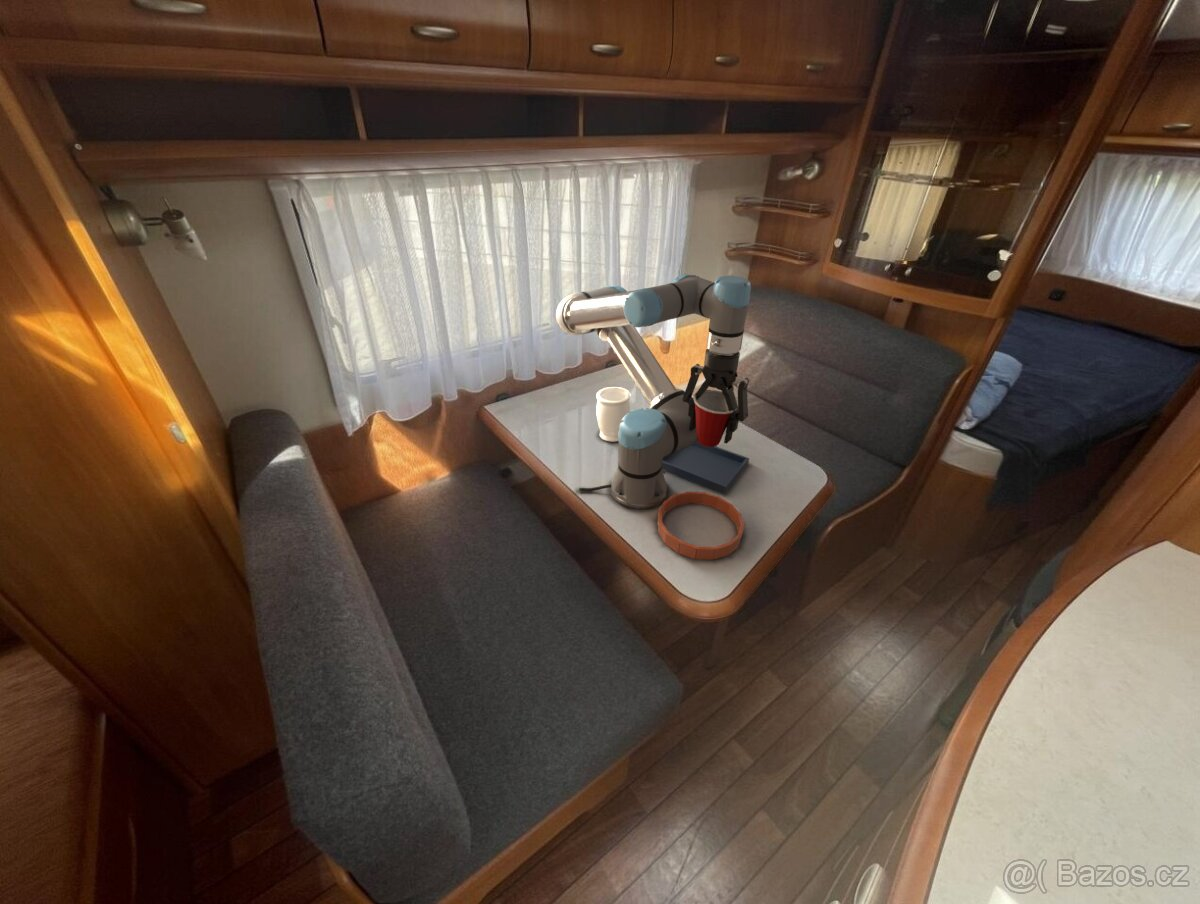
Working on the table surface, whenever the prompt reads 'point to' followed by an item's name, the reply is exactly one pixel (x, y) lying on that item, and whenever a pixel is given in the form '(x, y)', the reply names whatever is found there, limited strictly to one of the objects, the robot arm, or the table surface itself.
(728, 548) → the ring
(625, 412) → the jar
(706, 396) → the plastic cup
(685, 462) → the tray
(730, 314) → the robot arm
